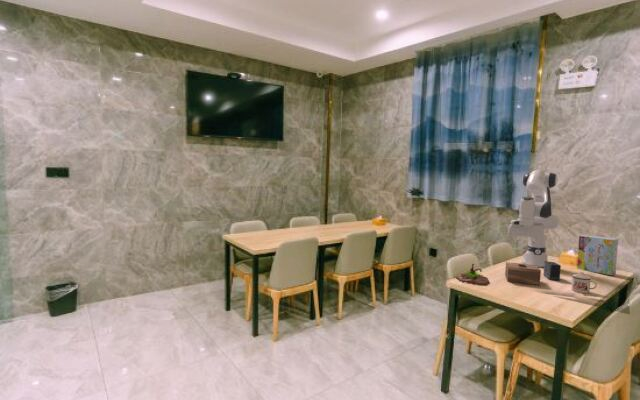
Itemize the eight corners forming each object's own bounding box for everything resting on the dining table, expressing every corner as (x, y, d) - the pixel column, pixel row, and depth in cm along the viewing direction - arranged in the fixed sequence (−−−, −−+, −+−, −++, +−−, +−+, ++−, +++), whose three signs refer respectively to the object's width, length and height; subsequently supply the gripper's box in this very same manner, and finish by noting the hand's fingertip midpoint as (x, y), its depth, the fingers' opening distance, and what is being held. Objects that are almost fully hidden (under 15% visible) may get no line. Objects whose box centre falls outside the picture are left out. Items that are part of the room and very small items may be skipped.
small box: (560, 280, 235) (561, 265, 234) (549, 280, 236) (550, 264, 235) (553, 276, 245) (554, 261, 244) (542, 275, 246) (543, 260, 246)
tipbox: (505, 276, 242) (506, 262, 241) (535, 279, 235) (536, 265, 235) (507, 282, 229) (508, 266, 228) (539, 285, 222) (540, 270, 222)
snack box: (616, 274, 254) (619, 239, 253) (611, 276, 250) (614, 240, 248) (580, 267, 272) (583, 234, 271) (576, 269, 267) (578, 235, 266)
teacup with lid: (570, 291, 213) (571, 272, 212) (572, 287, 220) (573, 269, 219) (595, 295, 205) (597, 276, 205) (596, 292, 212) (598, 273, 212)
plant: (489, 279, 235) (490, 263, 234) (488, 287, 217) (489, 269, 216) (457, 275, 244) (458, 259, 243) (454, 282, 226) (455, 265, 225)
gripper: (543, 222, 229) (542, 244, 230) (508, 220, 236) (507, 241, 237) (546, 223, 223) (544, 245, 224) (509, 221, 230) (508, 242, 231)
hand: (524, 243), depth 231 cm, fingers open, 8 cm apart
